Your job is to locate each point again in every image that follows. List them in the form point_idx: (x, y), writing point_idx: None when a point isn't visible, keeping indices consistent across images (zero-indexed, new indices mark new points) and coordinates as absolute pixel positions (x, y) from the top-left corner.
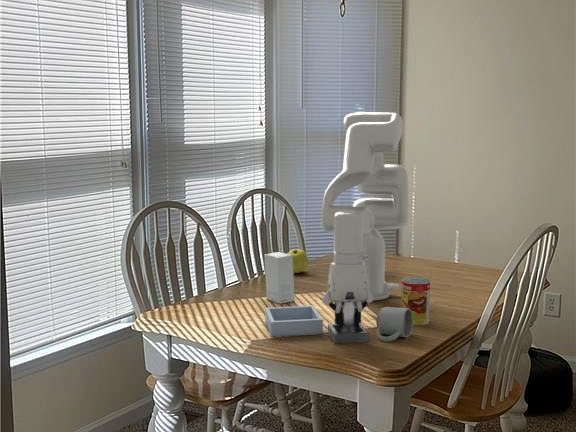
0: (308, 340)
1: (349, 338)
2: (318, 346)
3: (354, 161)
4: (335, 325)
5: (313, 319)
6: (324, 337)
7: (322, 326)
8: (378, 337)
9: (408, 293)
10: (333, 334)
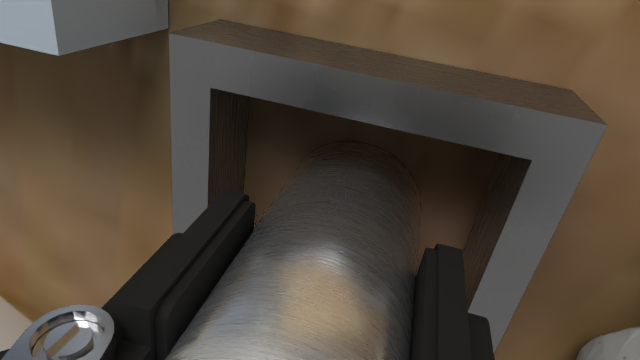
0: (47, 142)
1: None
2: (105, 270)
3: None
4: (249, 95)
5: None
6: (168, 124)
7: (117, 39)
8: (580, 351)
9: None
10: None
